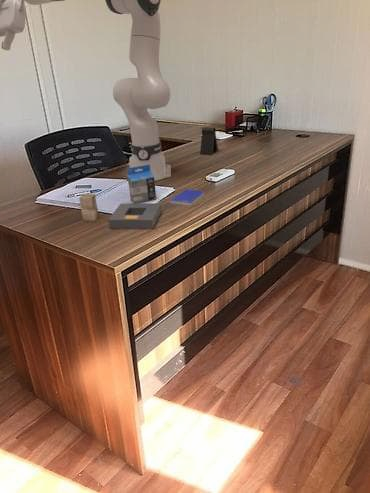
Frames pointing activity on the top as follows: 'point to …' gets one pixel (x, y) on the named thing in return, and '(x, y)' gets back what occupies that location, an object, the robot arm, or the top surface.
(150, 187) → the label tape box
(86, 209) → the birch peg
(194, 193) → the hard drive
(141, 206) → the block
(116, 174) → the top surface
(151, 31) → the robot arm
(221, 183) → the top surface
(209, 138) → the phone stand
